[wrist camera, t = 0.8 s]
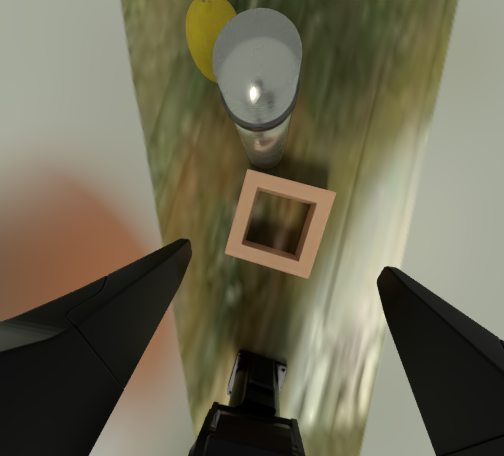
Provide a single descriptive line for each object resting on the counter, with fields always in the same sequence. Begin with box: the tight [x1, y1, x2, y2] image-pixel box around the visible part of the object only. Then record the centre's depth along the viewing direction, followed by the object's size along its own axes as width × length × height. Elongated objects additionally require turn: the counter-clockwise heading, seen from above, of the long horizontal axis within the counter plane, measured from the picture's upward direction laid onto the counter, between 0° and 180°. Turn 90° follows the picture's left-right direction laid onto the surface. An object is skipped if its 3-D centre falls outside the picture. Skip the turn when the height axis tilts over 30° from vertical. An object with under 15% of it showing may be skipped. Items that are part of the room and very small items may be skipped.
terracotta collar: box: [225, 169, 336, 279], centre depth 22 cm, size 9×9×4 cm
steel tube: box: [212, 8, 302, 169], centre depth 16 cm, size 5×5×14 cm
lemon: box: [186, 0, 237, 83], centre depth 19 cm, size 6×6×8 cm
